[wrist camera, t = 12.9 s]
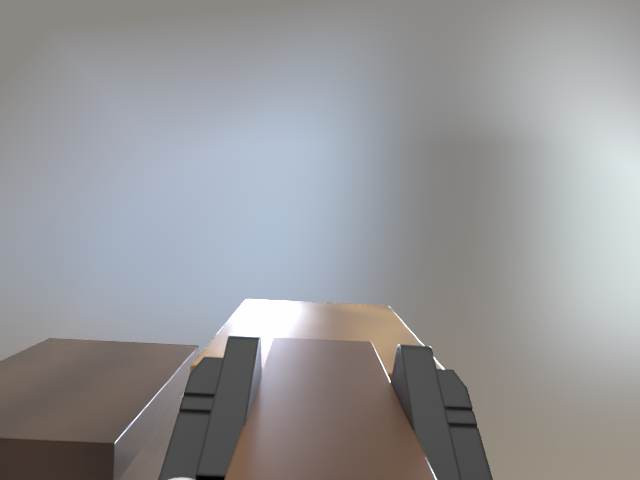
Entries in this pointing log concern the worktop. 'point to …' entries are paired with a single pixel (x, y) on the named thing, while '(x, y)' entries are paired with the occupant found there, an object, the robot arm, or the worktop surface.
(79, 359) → the pedestal
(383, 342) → the lid
